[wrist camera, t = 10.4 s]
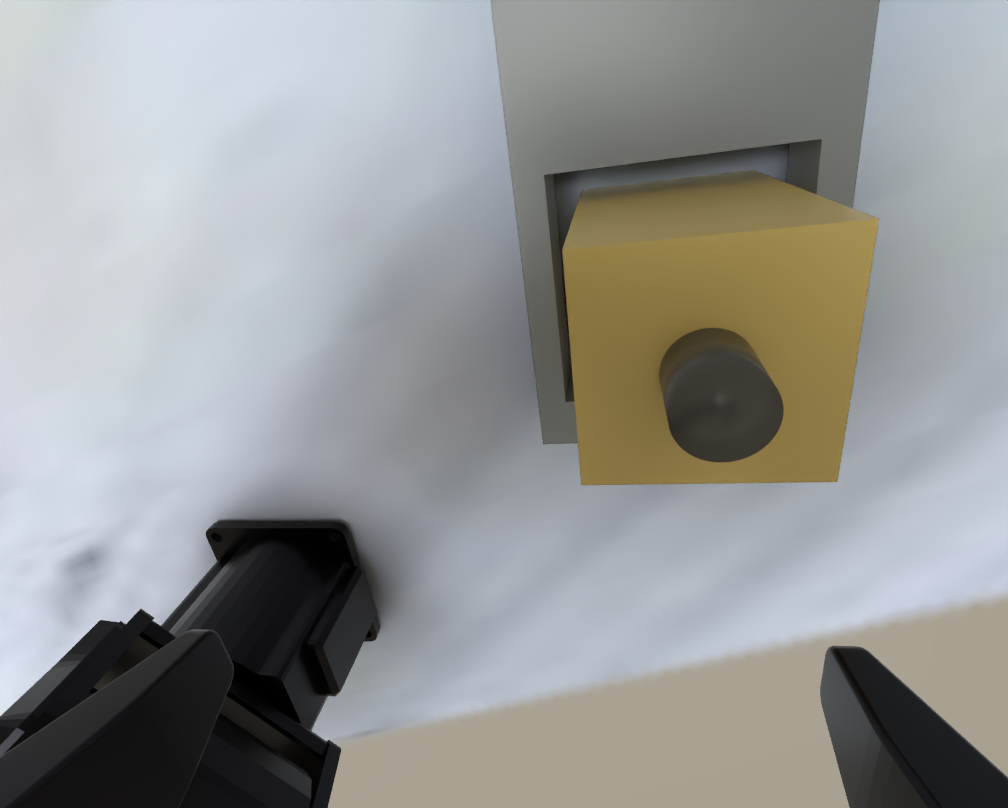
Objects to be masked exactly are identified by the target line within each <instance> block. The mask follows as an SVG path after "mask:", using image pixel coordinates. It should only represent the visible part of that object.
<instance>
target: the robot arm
mask: <svg viewBox="0 0 1008 808" xmlns="http://www.w3.org/2000/svg"><path fill="white" fill-rule="evenodd" d="M334 533H336V534H337V535H339V536H337V535H335V534H334ZM206 537H207V539H208V541H209V544H210V546H211V548H212V550H213V552H214V554H215V557H216V559H217V562H216V564H215V565H214V566H213V567H212V568H211V569H210V570H209V572H208V573H207V574H206V575H205V576H204V577H203V578H202V580H201V581H200V582H199V583H198V584H197V585H196V586H195V588H194V589H193V590H192V591H191V592H190V593H189V595H188V596H187V597H186V598H185V599H184V600H183V601H182V603H181V604H180V605H179V606H178V607H177V608H176V609H175V611H174V612H173V613H172V614H171V615H170V616H169V617H168V619H167V620H166V621H165V622H164V623H163V624H162V625H161V626H160V625H158V624H157V623H155V622H154V621H152V620H153V619H154V617H152V616H151V615H149V614H148V613H146V612H145V611H144V610H142V609H140V610H139V611H138V612H137V613H136V614H135V615H134V616H133V618H132V619H131V620H130V621H129V622H128V623H127V624H124V623H123V622H121V621H120V622H119V623H118V622H111V621H103V620H100V621H99V622H98V623H97V624H96V625H95V626H94V627H93V628H92V629H91V630H90V631H89V632H88V633H87V634H86V635H85V636H84V637H83V638H82V639H81V640H80V641H79V642H78V643H77V644H76V645H75V646H74V647H73V648H72V649H71V650H70V651H69V652H68V653H67V654H66V655H65V656H64V657H63V658H62V659H61V660H60V661H59V662H58V663H57V664H56V665H54V666H53V667H52V668H51V669H50V670H49V671H48V672H47V673H46V674H45V675H44V676H43V677H42V678H41V679H40V680H39V681H38V682H36V683H35V684H34V685H33V686H32V687H31V688H30V689H29V690H28V691H27V692H26V693H25V694H24V695H23V696H22V697H21V698H19V699H18V700H17V701H16V702H15V703H14V704H13V705H12V706H11V707H10V708H9V709H8V710H7V711H6V712H5V713H4V714H2V715H1V716H0V808H328V803H329V799H330V795H331V791H332V786H333V782H334V778H335V774H336V770H337V766H338V761H339V757H340V753H341V748H340V747H338V746H337V745H336V744H334V743H333V742H331V741H330V740H328V741H325V740H323V739H322V738H320V737H319V736H318V735H316V734H315V733H313V732H312V731H311V730H312V728H313V726H314V723H315V721H316V719H317V717H318V715H319V713H320V711H321V709H322V707H323V705H324V703H325V701H326V698H327V696H336V695H337V694H338V693H339V692H340V691H341V689H342V687H343V685H344V683H345V681H346V678H347V676H348V674H349V672H350V670H351V668H352V665H353V663H354V661H355V659H356V657H357V655H358V652H359V650H360V648H361V646H362V644H363V642H364V641H374V640H375V639H376V638H377V636H378V633H379V631H380V626H379V623H378V620H377V616H376V613H377V612H376V608H375V605H374V602H373V599H372V595H371V592H370V589H369V586H368V583H367V580H366V577H365V573H364V571H363V570H362V568H361V566H360V563H359V560H358V557H357V553H356V550H355V547H354V544H353V541H352V538H351V535H350V531H349V530H348V528H347V527H346V526H345V525H344V524H342V523H340V522H217V523H214V524H213V525H212V526H211V527H210V528H209V529H208V530H207V531H206ZM820 696H821V703H822V708H823V711H824V715H825V718H826V723H827V726H828V730H829V733H830V737H831V741H832V744H833V748H834V752H835V755H836V759H837V763H838V766H839V770H840V774H841V777H842V781H843V784H844V788H845V792H846V796H847V799H848V803H849V807H850V808H1008V777H1007V776H1006V775H1005V774H1003V773H1002V772H1001V771H1000V770H999V769H998V768H997V767H996V766H995V765H993V764H992V763H991V762H990V761H989V760H988V759H987V758H986V757H985V756H984V755H982V754H981V753H980V752H979V751H978V750H977V749H976V748H975V747H974V746H973V745H971V744H970V743H969V742H968V741H967V740H966V739H965V738H964V737H963V736H961V735H960V734H959V733H958V732H957V731H956V730H955V729H954V728H953V727H952V726H951V725H949V724H948V723H947V722H946V721H945V720H944V719H943V718H942V717H941V716H939V715H938V714H937V713H936V712H935V711H934V710H933V709H932V708H931V707H930V706H928V705H927V704H926V703H925V702H924V701H923V700H922V699H921V698H920V697H918V696H917V695H916V694H915V693H914V692H913V691H912V690H911V689H910V688H909V687H907V686H906V685H905V684H904V683H903V682H902V681H901V680H900V679H899V678H898V677H896V676H895V675H894V674H893V673H892V672H891V671H890V670H889V669H887V668H886V667H885V666H884V665H883V664H882V663H881V662H880V661H879V660H877V658H875V657H874V656H873V655H872V654H871V653H870V652H869V651H867V650H866V649H864V648H861V647H855V646H831V647H829V648H828V650H827V651H826V655H825V661H824V668H823V674H822V680H821V687H820Z"/></svg>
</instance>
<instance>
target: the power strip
mask: <svg viewBox="0 0 1008 808" xmlns="http://www.w3.org/2000/svg"><path fill="white" fill-rule="evenodd" d="M879 2H880V0H491V8H492V17H493V25H494V33H495V42H496V50H497V59H498V67H499V76H500V84H501V92H502V101H503V109H504V118H505V126H506V135H507V143H508V151H509V160H510V168H511V177H512V185H513V193H514V202H515V210H516V219H517V227H518V236H519V244H520V252H521V261H522V269H523V278H524V286H525V295H526V303H527V311H528V320H529V328H530V337H531V345H532V354H533V362H534V370H535V379H536V387H537V396H538V404H539V413H540V421H541V429H542V438H543V444H563V443H578V436H577V424H576V412H575V400H574V388H573V375H572V368H570V357H569V345H568V334H567V323H566V311H565V300H564V289H563V277H562V266H561V254H560V243H559V232H558V220H557V209H556V198H555V186H554V175H553V174H555V173H563V172H571V171H578V170H586V169H594V168H601V167H609V166H617V165H625V164H632V163H640V162H648V161H655V160H663V159H671V158H678V157H686V156H694V155H702V154H709V153H717V152H725V151H732V150H740V149H748V148H756V147H763V146H771V145H779V144H786V143H789V153H788V166H787V178H786V183H788V184H791V185H793V186H796V187H798V188H801V189H804V190H806V191H809V192H811V193H814V194H816V195H819V196H822V197H824V198H827V199H829V200H832V201H834V202H837V203H839V204H842V205H845V206H847V207H850V208H852V207H853V200H854V192H855V184H856V177H857V169H858V162H859V154H860V146H861V139H862V131H863V123H864V116H865V108H866V101H867V93H868V85H869V78H870V70H871V63H872V55H873V47H874V40H875V32H876V24H877V17H878V9H879Z"/></svg>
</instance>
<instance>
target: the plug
mask: <svg viewBox="0 0 1008 808" xmlns="http://www.w3.org/2000/svg"><path fill="white" fill-rule="evenodd" d="M878 221H879V219H878V218H875V217H873V216H870V215H868V214H865V213H863V212H860V211H857V210H855V209H852V208H850V207H847V206H845V205H842V204H839V203H837V202H834V201H832V200H829V199H827V198H824V197H822V196H819V195H816V194H814V193H811V192H809V191H806V190H804V189H801V188H798V187H796V186H793V185H791V184H788V183H786V182H783V181H781V180H778V179H775V178H773V177H770V176H768V175H765V174H763V173H760V172H757V171H755V170H749V171H741V172H732V173H724V174H715V175H707V176H698V177H690V178H681V179H673V180H664V181H655V182H647V183H638V184H630V185H621V186H613V187H604V188H596V189H587V190H582V192H581V195H580V198H579V201H578V204H577V207H576V210H575V213H574V216H573V219H572V222H571V225H570V228H569V231H568V234H567V237H566V240H565V243H564V246H563V249H562V253H563V265H564V277H565V290H566V302H567V314H568V326H569V339H570V351H571V363H572V375H573V388H574V400H575V412H576V424H577V436H578V449H579V461H580V473H581V485H625V484H705V483H785V482H837V481H838V475H839V468H840V462H841V456H842V449H843V443H844V437H845V430H846V424H847V418H848V411H849V405H850V399H851V392H852V386H853V380H854V373H855V367H856V361H857V354H858V348H859V342H860V335H861V329H862V323H863V316H864V310H865V304H866V297H867V291H868V285H869V278H870V272H871V266H872V259H873V253H874V247H875V240H876V234H877V228H878Z"/></svg>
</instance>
